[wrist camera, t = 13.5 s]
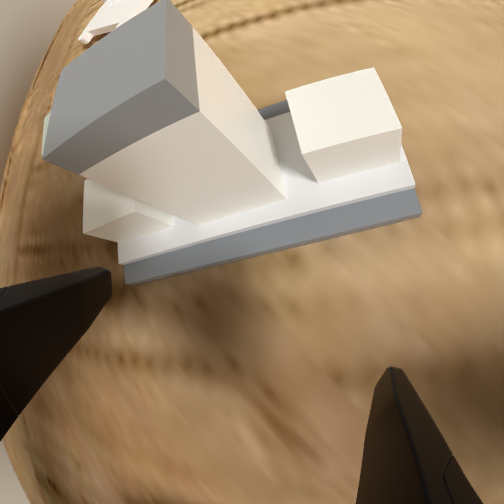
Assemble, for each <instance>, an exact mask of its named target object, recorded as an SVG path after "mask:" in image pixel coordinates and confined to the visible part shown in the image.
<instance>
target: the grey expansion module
mask: <svg viewBox="0 0 504 504" xmlns="http://www.w3.org/2000/svg"><path fill="white" fill-rule="evenodd" d="M42 159H43V160H45V161H48V162H50V163H52V164H55V165H57V166H60V167H62V168H64V169H67V170H69V171H71V172H74V173H76V174H78V175H81V176H83V177H86V178H88V179H90V180H93V181H95V182H97V183H100V184H102V185H104V186H107V187H109V188H112V189H114V190H116V191H119V192H121V193H123V194H126V195H128V196H130V197H133V198H135V199H137V200H140V201H142V202H144V203H147V204H149V205H152V206H154V207H156V208H159V209H161V210H163V211H166V212H168V213H170V214H173V215H175V216H177V217H180V218H182V219H184V220H187V221H189V222H191V223H194V224H196V225H198V226H200V225H203V224H206V223H210V222H213V221H216V220H219V219H223V218H226V217H229V216H233V215H236V214H239V213H243V212H246V211H250V210H253V209H256V208H260V207H263V206H267V205H270V204H274V203H277V202H281V201H284V200H287V197H286V192H285V188H284V183H283V179H282V174H281V169H280V165H279V160H278V156H277V151H276V147H275V143H274V138H273V134H272V130H271V129H270V127H269V126H268V124H267V123H266V122H265V120H264V119H263V117H262V116H261V115H260V113H259V112H258V110H257V109H256V108H255V106H254V105H253V104H252V102H251V101H250V99H249V98H248V97H247V95H246V94H245V93H244V91H243V90H242V89H241V87H240V86H239V85H238V83H237V82H236V81H235V79H234V78H233V77H232V75H231V74H230V73H229V72H228V70H227V69H226V68H225V66H224V65H223V64H222V62H221V61H220V60H219V59H218V57H217V56H216V55H215V54H214V52H213V51H212V50H211V49H210V47H209V46H208V45H207V44H206V42H205V41H204V40H203V39H202V38H201V36H200V35H199V34H198V33H197V31H196V30H195V29H194V28H193V27H192V25H191V24H190V23H189V22H188V21H187V20H186V18H185V17H184V16H183V15H182V14H181V13H180V11H179V10H178V9H177V8H176V7H175V6H174V5H173V3H172V2H171V1H170V0H161V1H159V2H158V3H156V4H154V5H152V6H151V7H149V8H147V9H146V10H144V11H142V12H141V13H139V14H138V15H136V16H134V17H133V18H131V19H130V20H128V21H127V22H125V23H123V24H122V25H120V26H119V27H118V28H116V29H115V30H113V31H112V32H110V33H109V34H107V35H106V36H105V37H103V38H102V39H100V40H99V41H98V42H96V43H95V44H94V45H92V46H91V47H90V48H88V49H87V50H86V51H84V52H83V53H82V54H81V55H79V56H78V57H77V58H76V59H74V60H73V61H72V62H71V63H70V64H68V65H67V66H66V67H65V68H64V69H62V71H61V74H60V78H59V81H58V85H57V89H56V93H55V97H54V101H53V105H52V109H51V114H50V119H49V123H48V128H47V134H46V139H45V145H44V151H43V157H42Z"/></svg>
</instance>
